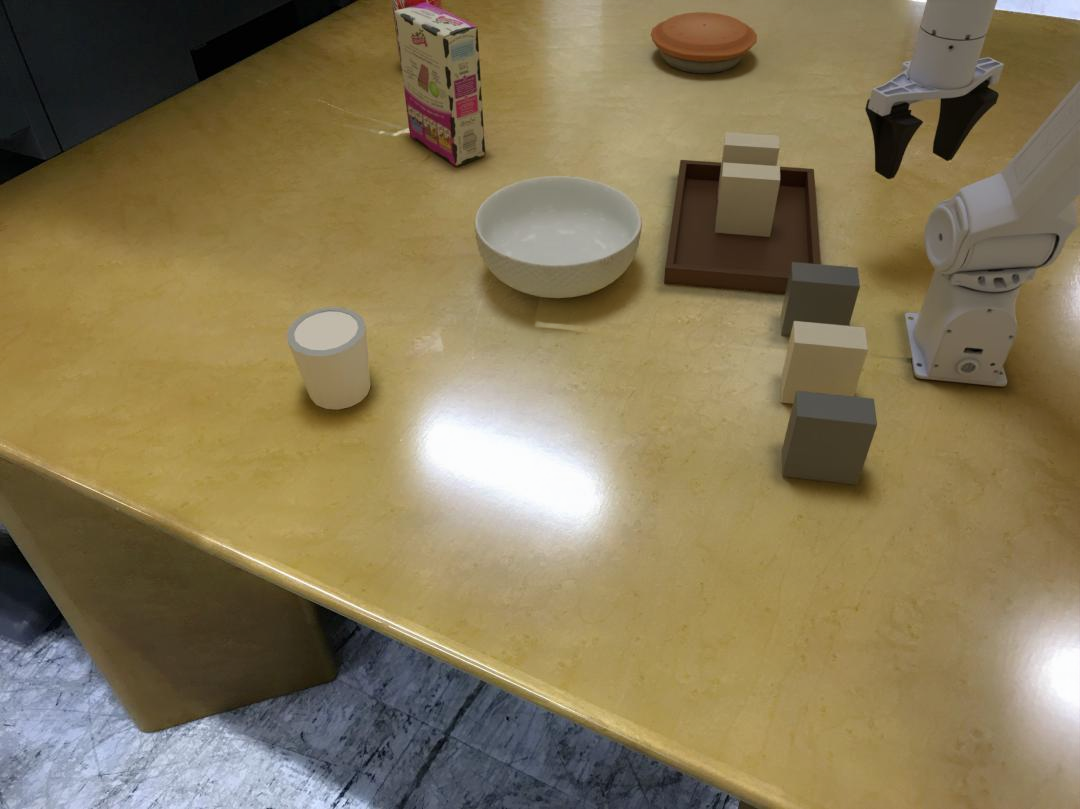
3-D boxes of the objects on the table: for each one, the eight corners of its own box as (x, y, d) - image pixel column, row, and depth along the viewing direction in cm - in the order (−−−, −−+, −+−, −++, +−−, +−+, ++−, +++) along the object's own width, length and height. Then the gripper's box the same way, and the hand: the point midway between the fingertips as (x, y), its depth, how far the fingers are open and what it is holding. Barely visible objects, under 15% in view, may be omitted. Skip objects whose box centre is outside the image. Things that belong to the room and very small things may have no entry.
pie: (629, 51, 137) (631, 18, 134) (712, 31, 142) (716, -2, 139) (687, 89, 127) (691, 54, 124) (774, 65, 132) (780, 31, 129)
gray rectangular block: (843, 345, 86) (860, 286, 81) (779, 339, 87) (792, 280, 82) (841, 326, 88) (857, 267, 83) (779, 320, 89) (791, 261, 84)
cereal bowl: (499, 336, 88) (495, 277, 83) (464, 245, 100) (459, 188, 95) (661, 305, 91) (666, 246, 86) (609, 220, 103) (611, 164, 98)
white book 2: (769, 237, 99) (780, 180, 94) (714, 232, 99) (722, 176, 95) (769, 222, 101) (780, 166, 96) (715, 218, 102) (723, 162, 97)
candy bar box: (488, 155, 115) (480, 25, 103) (456, 168, 112) (444, 36, 101) (439, 125, 121) (426, -1, 110) (408, 136, 119) (391, 9, 108)
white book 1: (769, 204, 104) (779, 148, 99) (717, 200, 104) (724, 144, 100) (769, 190, 106) (779, 135, 101) (718, 187, 107) (725, 132, 102)
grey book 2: (857, 485, 73) (877, 424, 68) (782, 476, 74) (796, 416, 69) (854, 458, 75) (874, 398, 70) (781, 450, 76) (796, 390, 71)
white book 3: (849, 410, 80) (868, 349, 75) (780, 402, 80) (794, 342, 76) (847, 387, 82) (865, 327, 77) (780, 380, 83) (793, 320, 78)
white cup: (343, 354, 87) (330, 296, 82) (392, 384, 83) (381, 325, 78) (287, 393, 83) (269, 334, 78) (336, 425, 80) (321, 365, 75)
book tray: (817, 301, 91) (822, 280, 89) (663, 287, 93) (665, 267, 92) (809, 188, 107) (814, 168, 105) (678, 178, 109) (680, 159, 108)
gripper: (978, 0, 86) (938, 132, 95) (860, 28, 81) (830, 165, 91) (1038, 24, 81) (990, 161, 91) (916, 56, 77) (878, 196, 86)
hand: (913, 165), depth 90 cm, fingers open, 7 cm apart
